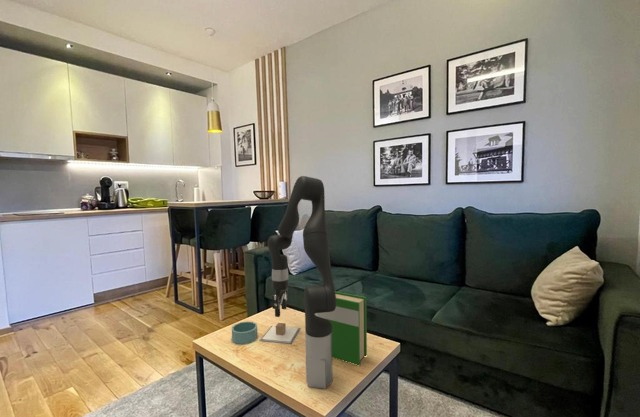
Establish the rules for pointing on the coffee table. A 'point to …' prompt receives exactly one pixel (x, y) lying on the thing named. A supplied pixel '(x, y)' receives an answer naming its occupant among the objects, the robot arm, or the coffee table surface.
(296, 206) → the robot arm
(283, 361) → the coffee table surface
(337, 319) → the hardback book
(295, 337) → the rubber mat
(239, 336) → the teal pet bowl
